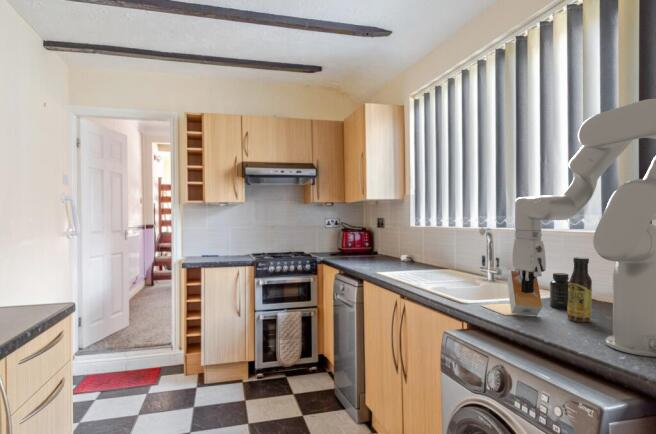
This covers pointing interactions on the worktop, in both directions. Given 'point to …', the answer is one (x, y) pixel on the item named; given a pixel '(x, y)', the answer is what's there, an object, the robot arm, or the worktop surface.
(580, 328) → the worktop surface
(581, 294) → the sauce bottle
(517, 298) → the small box
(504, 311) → the cork mat
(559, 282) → the supplement bottle
